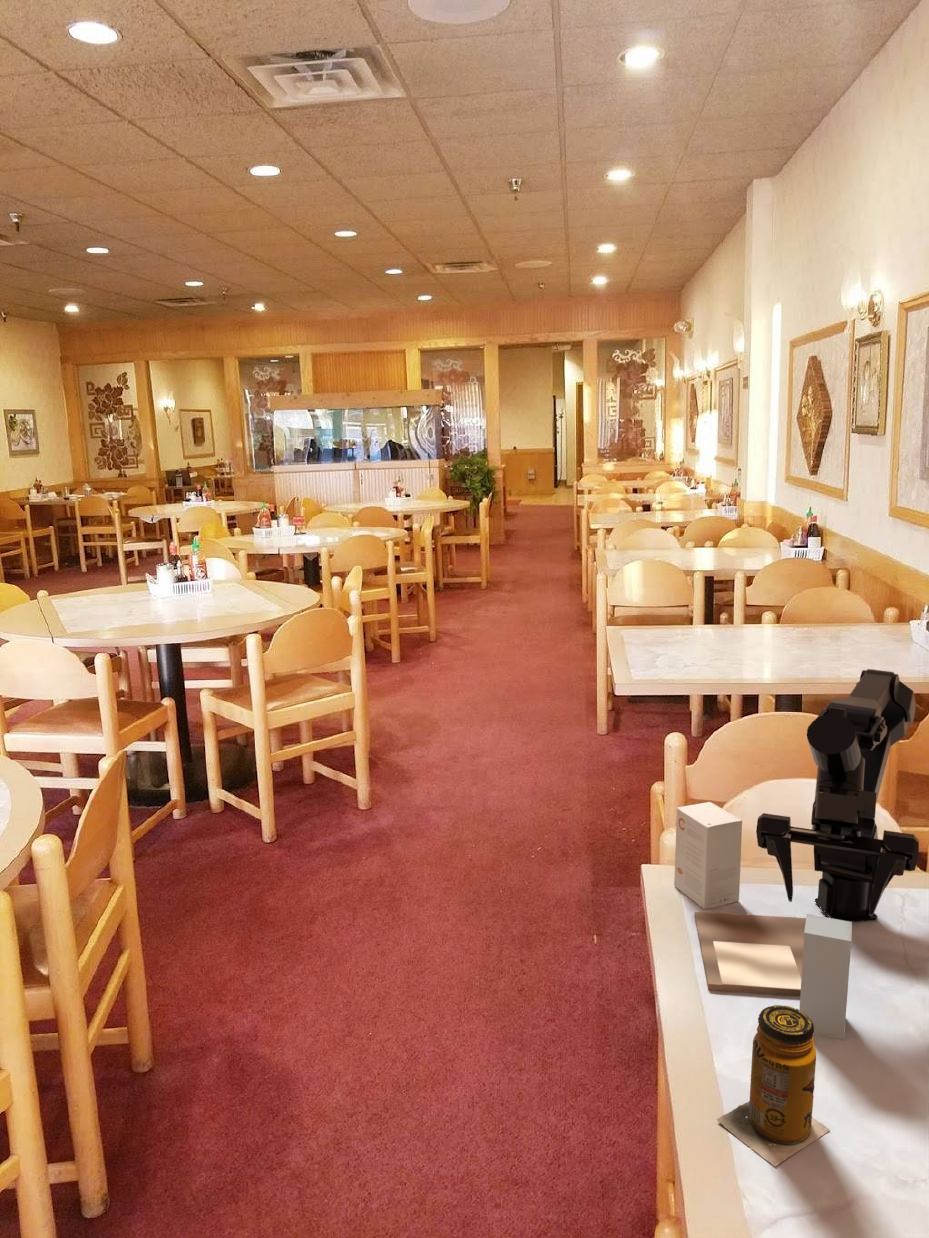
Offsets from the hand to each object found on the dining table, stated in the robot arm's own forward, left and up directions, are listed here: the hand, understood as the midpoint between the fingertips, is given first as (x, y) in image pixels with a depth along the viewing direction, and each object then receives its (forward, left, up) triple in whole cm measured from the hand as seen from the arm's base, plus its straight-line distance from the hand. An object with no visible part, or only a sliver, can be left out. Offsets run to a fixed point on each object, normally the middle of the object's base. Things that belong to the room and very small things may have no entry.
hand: (829, 907), depth 113 cm
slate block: (+3, +5, -12) cm, 13 cm away
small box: (+5, -27, -12) cm, 30 cm away
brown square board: (+4, -9, -12) cm, 15 cm away
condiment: (+16, +20, -12) cm, 28 cm away
